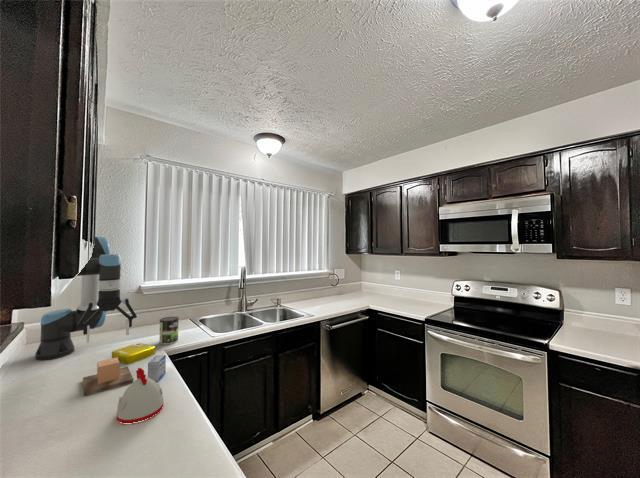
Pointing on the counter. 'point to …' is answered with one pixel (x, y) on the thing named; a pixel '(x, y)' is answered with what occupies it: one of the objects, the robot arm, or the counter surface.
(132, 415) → the chicken dome
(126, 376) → the board
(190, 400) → the counter surface
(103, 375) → the orange cube
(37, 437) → the counter surface
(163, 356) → the medicine box
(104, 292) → the robot arm
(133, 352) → the element tile
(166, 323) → the coffee can
